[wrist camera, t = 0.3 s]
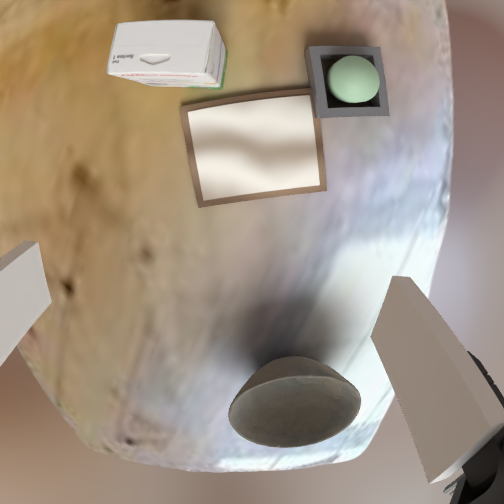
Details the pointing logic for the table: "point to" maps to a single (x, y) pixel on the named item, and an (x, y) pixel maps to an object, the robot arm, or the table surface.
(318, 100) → the button housing
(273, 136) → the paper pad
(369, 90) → the button
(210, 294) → the table surface
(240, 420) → the bowl
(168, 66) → the ink box
